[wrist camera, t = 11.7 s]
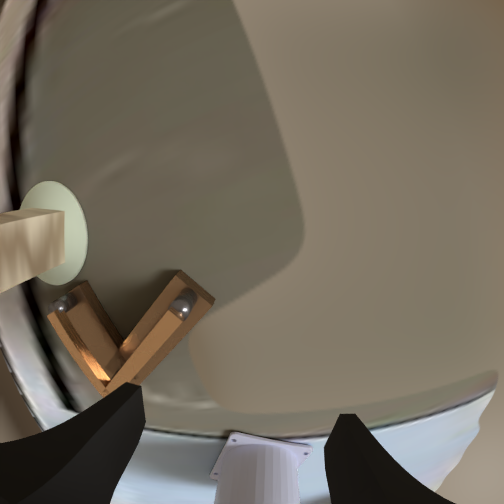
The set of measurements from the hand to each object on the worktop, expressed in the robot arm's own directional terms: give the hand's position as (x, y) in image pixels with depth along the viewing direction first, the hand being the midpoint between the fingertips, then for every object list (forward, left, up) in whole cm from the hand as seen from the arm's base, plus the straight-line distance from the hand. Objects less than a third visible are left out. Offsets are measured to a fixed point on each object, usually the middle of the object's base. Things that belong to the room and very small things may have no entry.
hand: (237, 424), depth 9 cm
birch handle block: (0, +17, -10) cm, 20 cm away
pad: (0, +17, -10) cm, 20 cm away
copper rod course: (-5, +9, -10) cm, 14 cm away
